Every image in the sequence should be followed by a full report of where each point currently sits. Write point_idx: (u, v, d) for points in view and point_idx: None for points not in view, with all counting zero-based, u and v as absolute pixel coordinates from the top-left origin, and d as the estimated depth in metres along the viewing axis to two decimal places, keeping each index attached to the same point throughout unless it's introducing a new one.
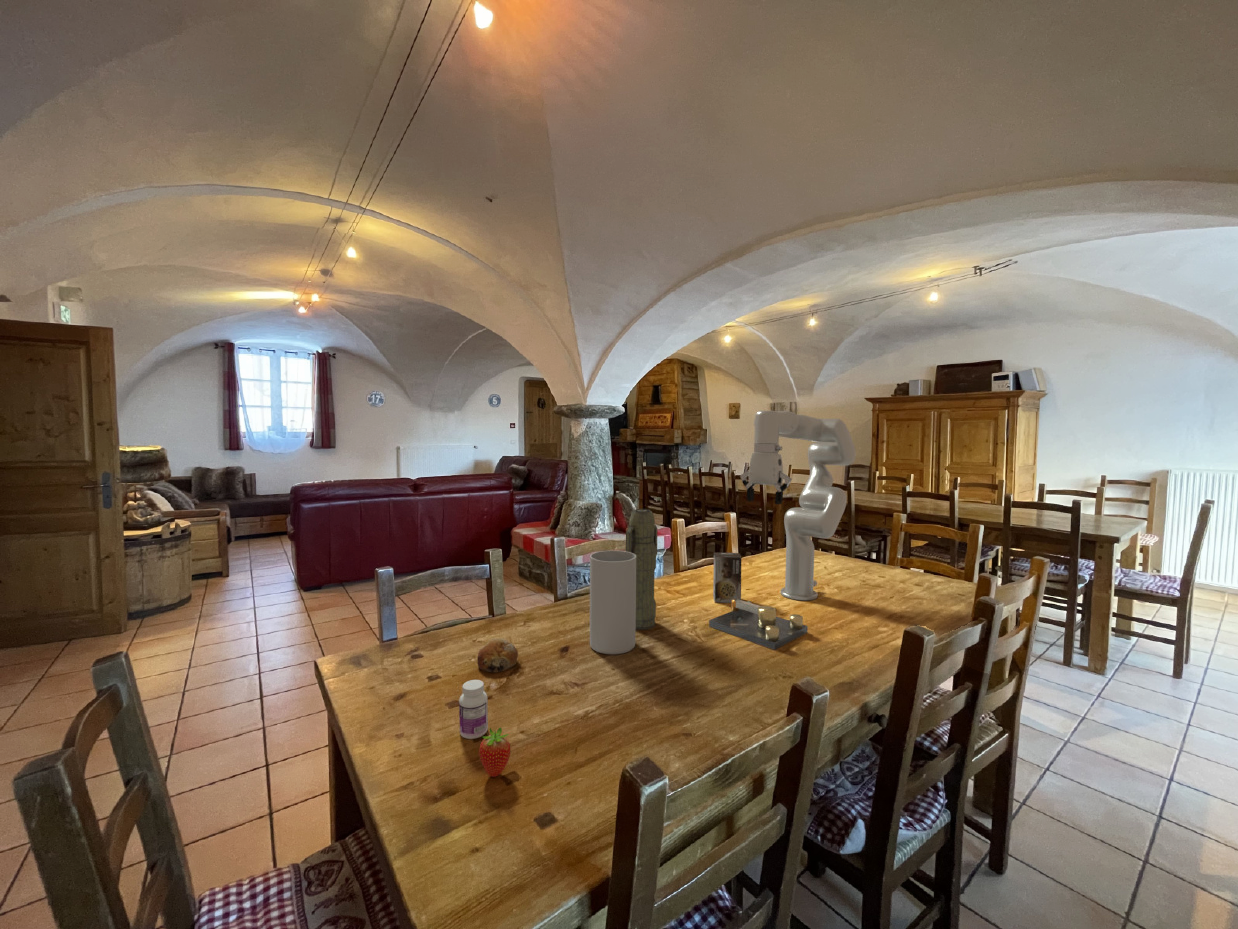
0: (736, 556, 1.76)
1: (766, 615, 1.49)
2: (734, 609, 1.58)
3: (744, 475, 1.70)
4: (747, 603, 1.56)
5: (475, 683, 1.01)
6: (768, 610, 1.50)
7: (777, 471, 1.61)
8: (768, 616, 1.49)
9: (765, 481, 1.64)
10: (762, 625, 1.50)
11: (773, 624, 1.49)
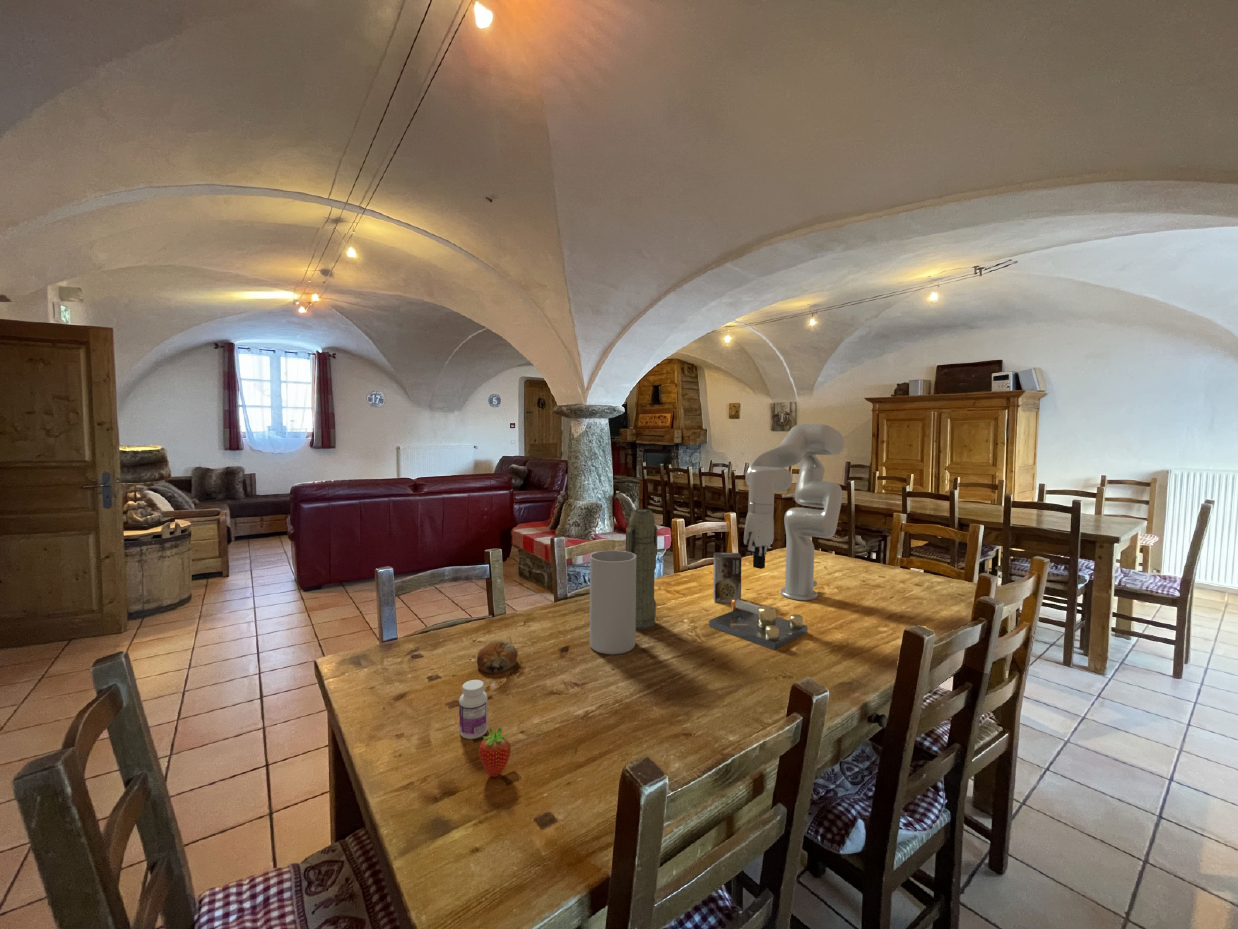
0: (736, 556, 1.76)
1: (766, 615, 1.49)
2: (734, 609, 1.58)
3: (753, 545, 1.56)
4: (747, 603, 1.56)
5: (475, 683, 1.01)
6: (768, 610, 1.50)
7: None
8: (768, 616, 1.49)
9: (768, 542, 1.58)
10: (762, 625, 1.50)
11: (773, 624, 1.49)
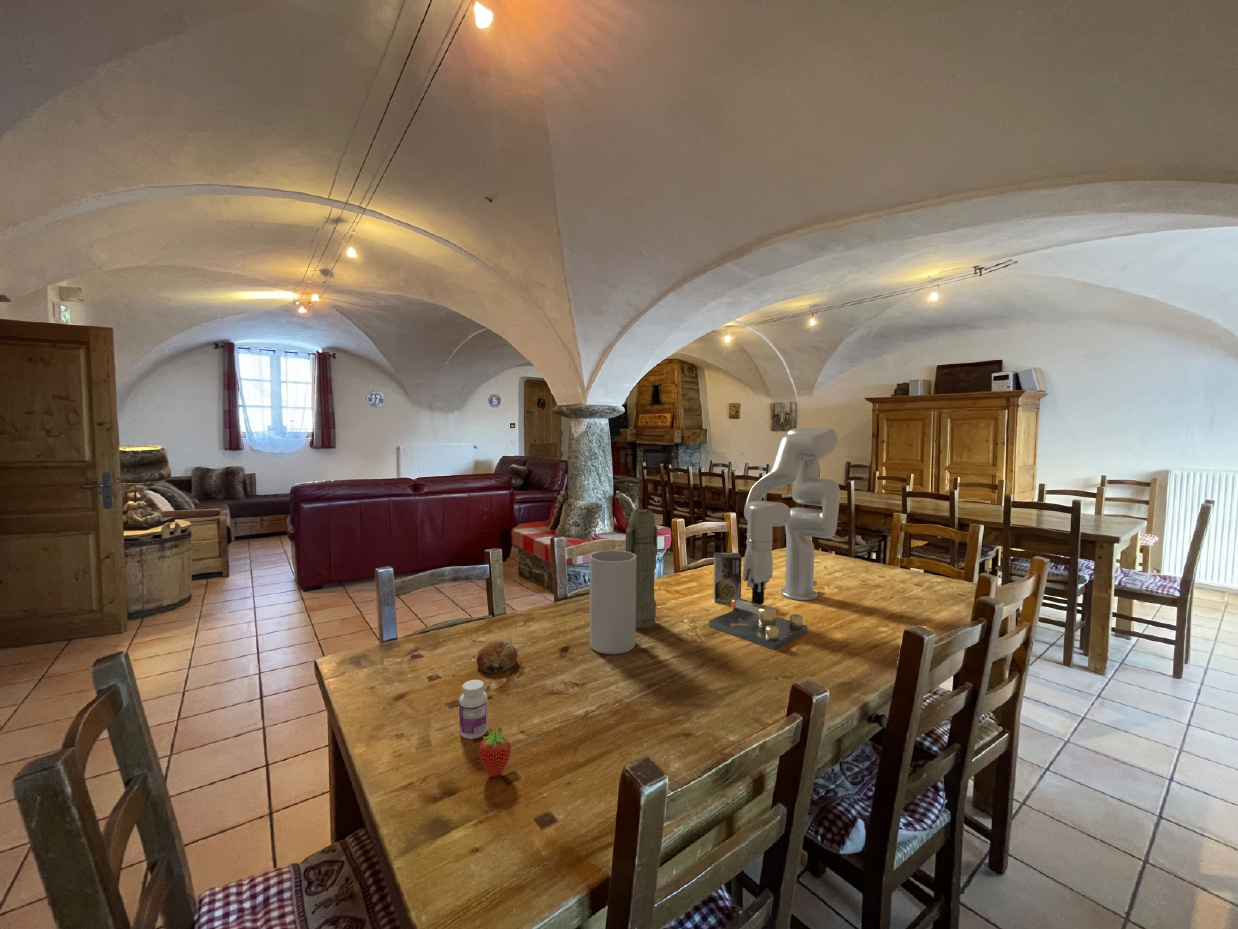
0: (736, 556, 1.76)
1: (766, 615, 1.49)
2: (734, 609, 1.58)
3: (752, 582, 1.56)
4: (747, 603, 1.56)
5: (475, 683, 1.01)
6: (768, 610, 1.50)
7: None
8: (768, 616, 1.49)
9: (766, 577, 1.59)
10: (762, 625, 1.50)
11: (773, 624, 1.49)
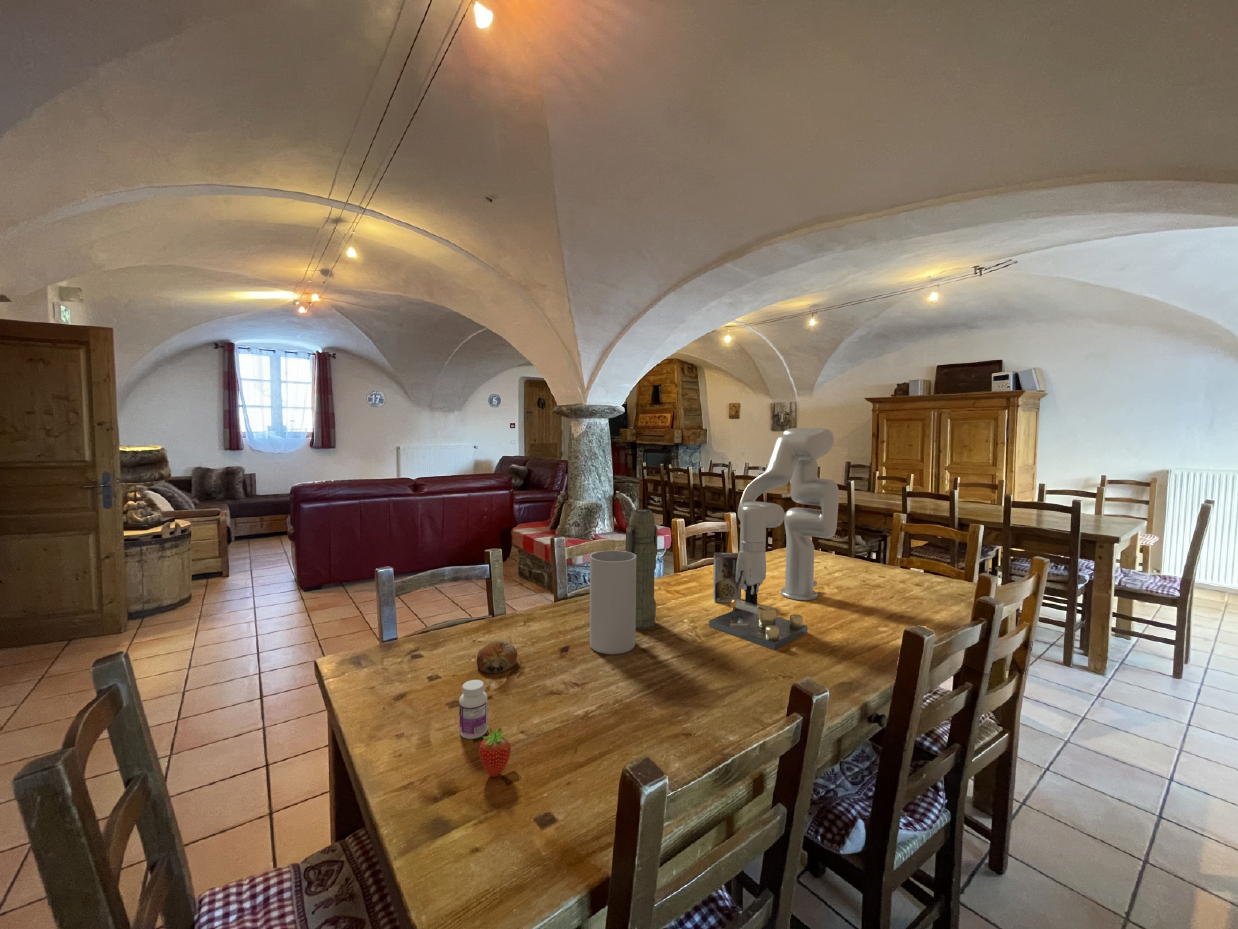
0: (736, 556, 1.76)
1: (766, 615, 1.49)
2: (734, 609, 1.58)
3: (745, 584, 1.54)
4: (747, 603, 1.56)
5: (475, 683, 1.01)
6: (768, 610, 1.50)
7: None
8: (768, 616, 1.49)
9: (760, 579, 1.57)
10: (762, 625, 1.49)
11: (773, 624, 1.49)
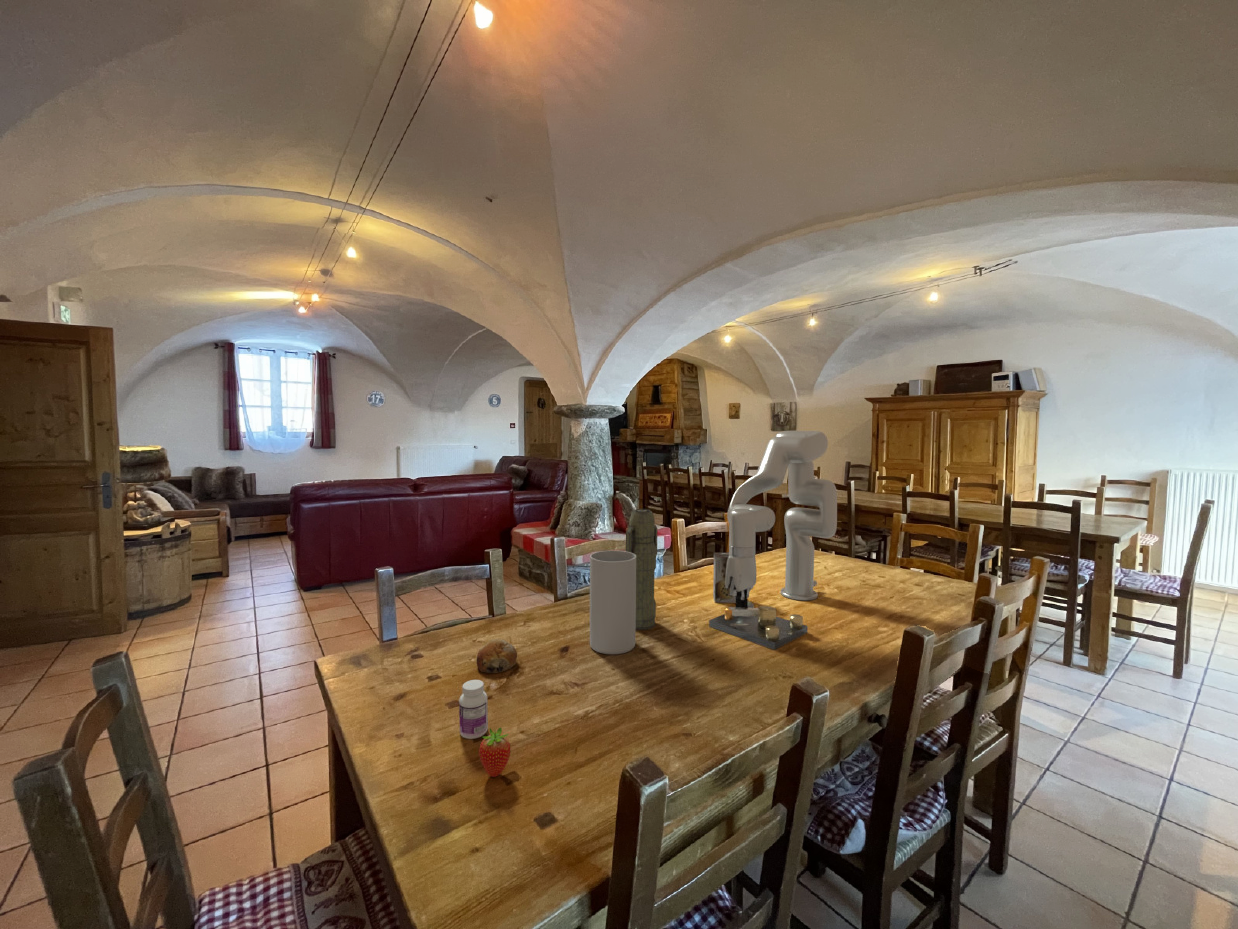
0: None
1: (772, 615, 1.49)
2: (730, 618, 1.51)
3: (734, 590, 1.50)
4: (744, 608, 1.51)
5: (475, 683, 1.01)
6: (771, 610, 1.50)
7: None
8: (774, 616, 1.49)
9: (750, 585, 1.53)
10: None
11: (775, 622, 1.51)
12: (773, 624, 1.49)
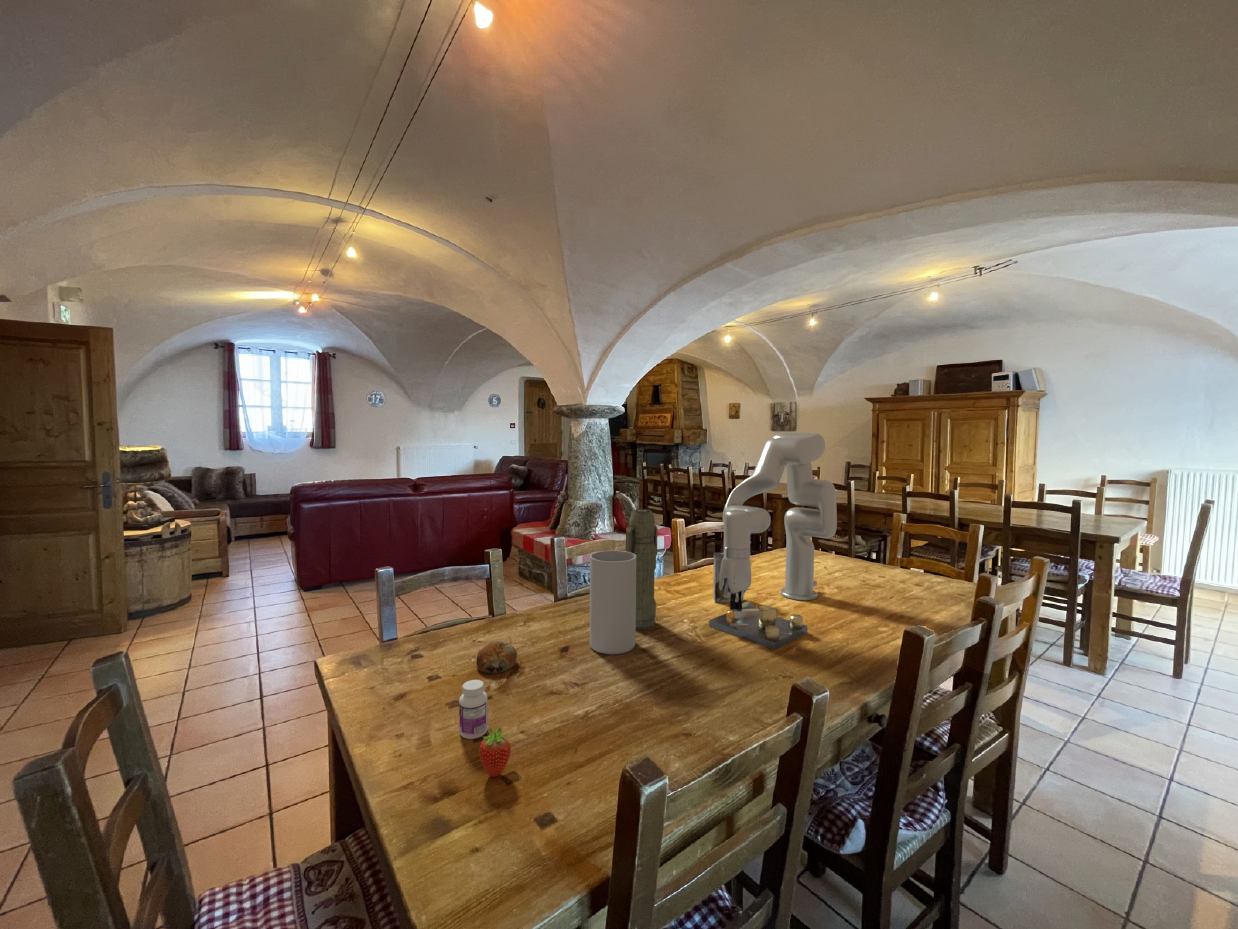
0: None
1: (773, 615, 1.49)
2: (733, 621, 1.49)
3: (729, 592, 1.49)
4: (745, 610, 1.50)
5: (475, 683, 1.01)
6: (771, 609, 1.50)
7: None
8: (774, 615, 1.49)
9: (744, 587, 1.51)
10: None
11: None
12: (774, 624, 1.49)
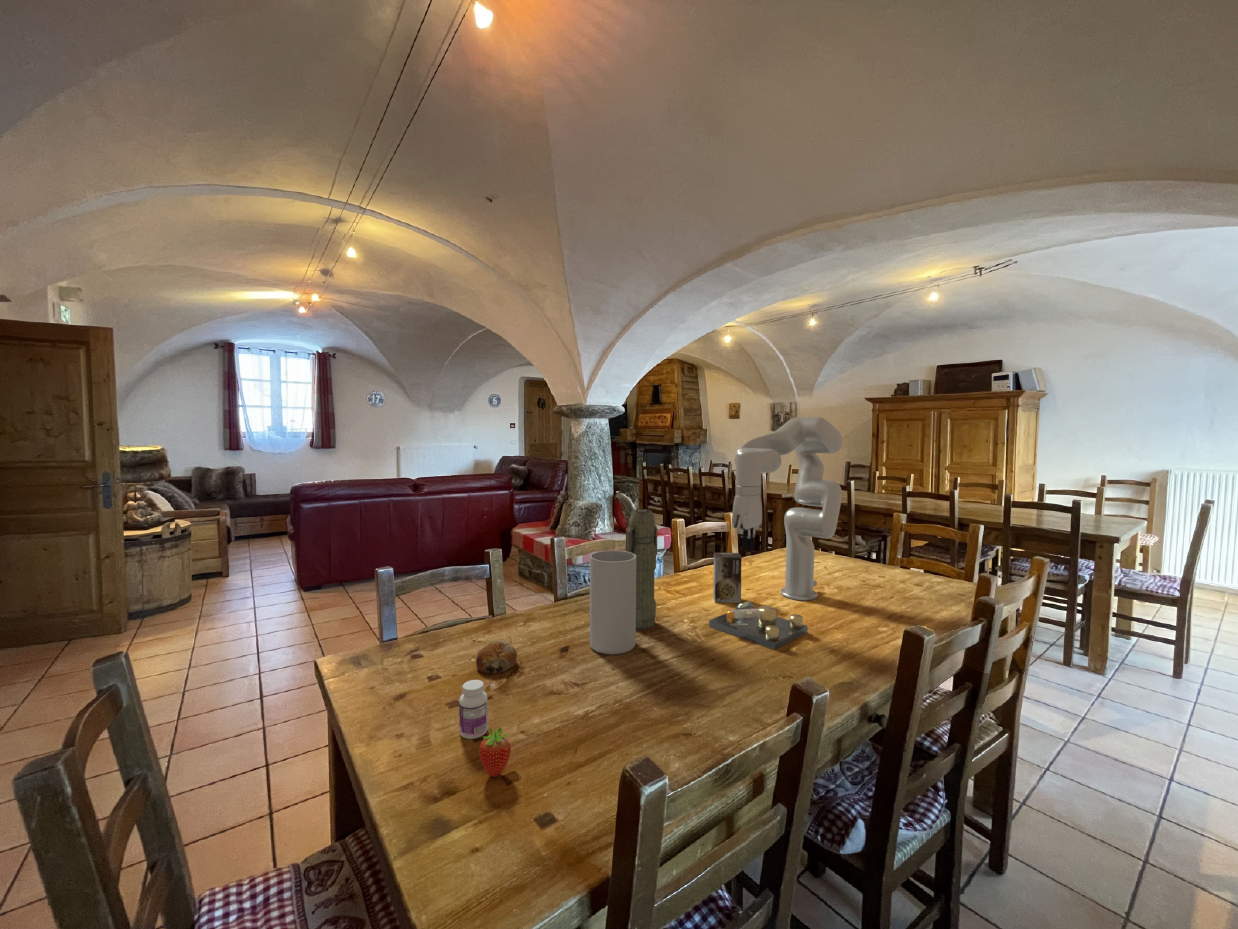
0: (736, 556, 1.76)
1: (773, 615, 1.49)
2: (733, 621, 1.49)
3: (741, 528, 1.55)
4: (745, 610, 1.50)
5: (475, 683, 1.01)
6: (771, 609, 1.50)
7: None
8: (775, 615, 1.49)
9: (756, 524, 1.57)
10: None
11: None
12: (774, 624, 1.49)
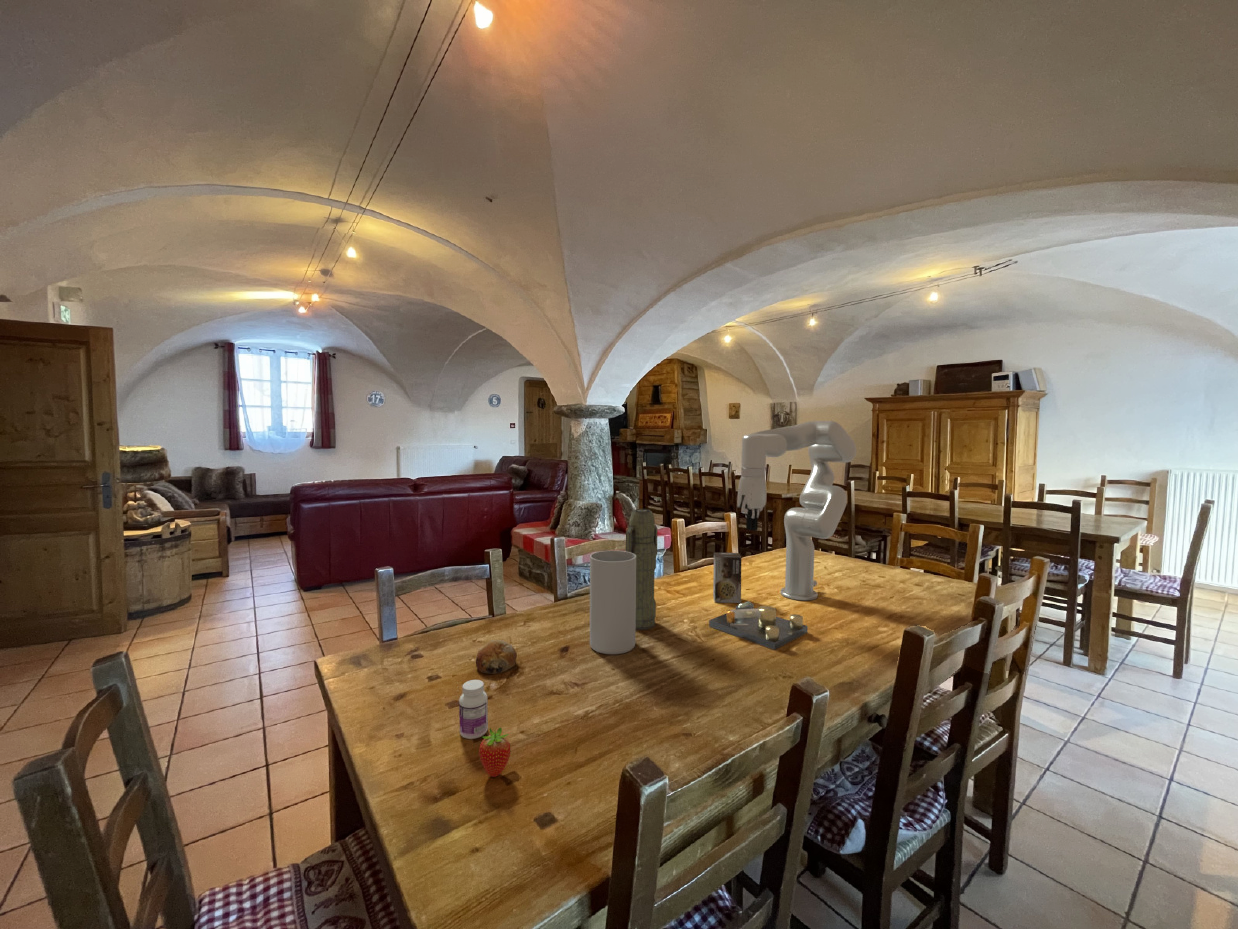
0: (736, 556, 1.76)
1: (773, 615, 1.49)
2: (733, 621, 1.49)
3: (746, 508, 1.63)
4: (745, 610, 1.50)
5: (475, 683, 1.01)
6: (771, 609, 1.50)
7: None
8: (775, 615, 1.49)
9: (760, 505, 1.65)
10: None
11: None
12: (774, 624, 1.49)
